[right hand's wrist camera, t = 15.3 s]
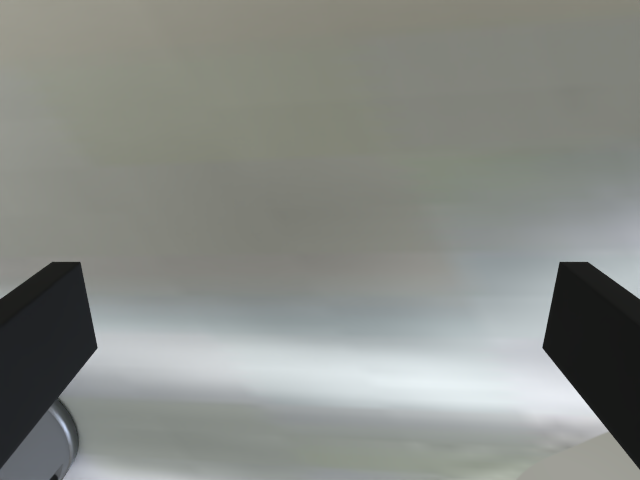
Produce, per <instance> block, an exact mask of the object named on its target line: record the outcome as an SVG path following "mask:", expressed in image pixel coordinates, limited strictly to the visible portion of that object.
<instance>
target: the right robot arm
mask: <svg viewBox="0 0 640 480" xmlns="http://www.w3.org/2000/svg"><path fill="white" fill-rule="evenodd" d="M96 349H97V343H96V338H95V333H94V328H93V323H92V318H91V313H90V308H89V303H88V298H87V293H86V288H85V283H84V278H83V273H82V268H81V263H80V262H52V263H50V264H49V265H47V266H46V267H45V268H43V269H42V270H40V271H39V272H38V273H36V274H35V275H33V276H32V277H31V278H29V279H28V280H27V281H25V282H24V283H22V284H21V285H20V286H18V287H17V288H15V289H14V290H13V291H11V292H10V293H8V294H7V295H6V296H4V297H3V298H1V299H0V480H62V479H63V478H64V476H65V475H66V473H67V471H68V470H69V468H70V467H71V465H72V463H73V462H74V459H75V457H76V454H77V450H78V436H77V431H76V427H75V425H74V422H73V420H72V418H71V416H70V415H69V413H68V411H67V410H66V409H65V407H64V406H63V405H62V404H61V403H60V402H59V400H58V399H57V398H58V397H59V395H60V394H61V393H62V392H63V390H64V389H65V388H66V387H67V385H68V384H69V383H70V382H71V380H72V379H73V378H74V377H75V375H76V374H77V373H78V372H79V370H80V369H81V368H82V367H83V366H84V364H85V363H86V362H87V361H88V359H89V358H90V357H91V356H92V354H93V353H94V352H95V351H96ZM543 349H544V351H545V352H546V353H547V354H548V356H549V357H550V358H551V359H552V361H553V362H554V363H555V364H556V366H557V367H558V368H559V369H560V371H561V372H562V373H563V374H564V375H565V377H566V378H567V379H568V380H569V382H570V383H571V384H572V385H573V387H574V388H575V389H576V390H577V392H578V393H579V394H580V395H581V397H582V398H583V399H584V400H585V402H586V403H587V404H588V405H589V407H590V408H591V409H592V410H593V412H594V413H595V414H596V415H597V417H598V418H599V419H600V420H601V422H602V423H603V424H604V425H605V427H606V428H607V429H608V430H609V432H610V433H611V434H612V435H613V437H614V438H615V439H616V440H617V442H618V443H619V444H620V445H621V447H622V448H623V449H624V450H625V452H626V453H627V454H628V455H629V457H630V458H631V459H632V460H633V462H634V463H635V464H636V465H637V467H638V468H639V469H640V299H639V298H637V297H636V296H634V295H633V294H632V293H630V292H629V291H627V290H626V289H625V288H623V287H622V286H620V285H619V284H618V283H616V282H615V281H613V280H612V279H611V278H609V277H608V276H607V275H605V274H604V273H602V272H601V271H600V270H598V269H597V268H595V267H594V266H593V265H591V264H590V263H588V262H560V263H559V268H558V273H557V278H556V283H555V288H554V293H553V298H552V303H551V308H550V313H549V318H548V323H547V328H546V333H545V338H544V343H543Z"/></svg>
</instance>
